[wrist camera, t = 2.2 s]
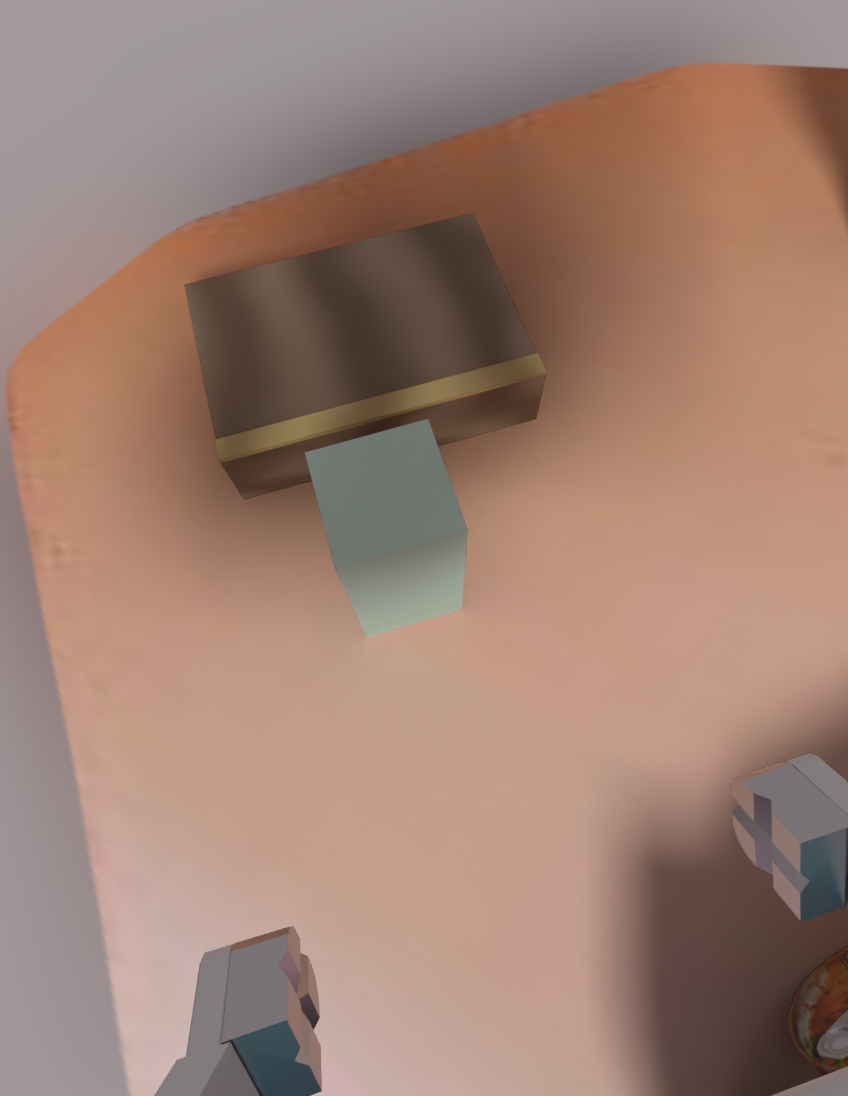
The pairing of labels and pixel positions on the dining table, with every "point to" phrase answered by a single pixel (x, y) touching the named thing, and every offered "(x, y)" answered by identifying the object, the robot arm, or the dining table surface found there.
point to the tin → (823, 1016)
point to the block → (392, 525)
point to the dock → (360, 349)
